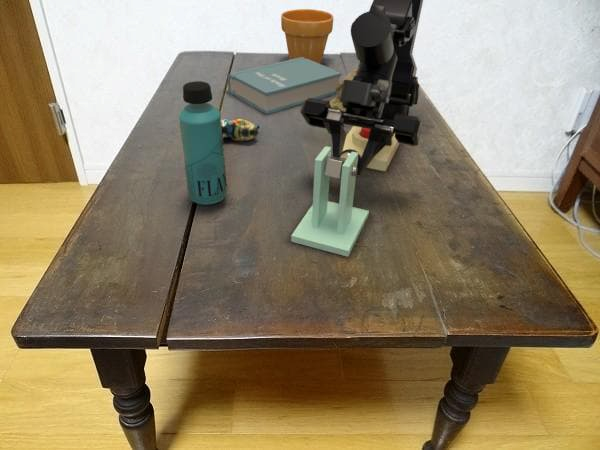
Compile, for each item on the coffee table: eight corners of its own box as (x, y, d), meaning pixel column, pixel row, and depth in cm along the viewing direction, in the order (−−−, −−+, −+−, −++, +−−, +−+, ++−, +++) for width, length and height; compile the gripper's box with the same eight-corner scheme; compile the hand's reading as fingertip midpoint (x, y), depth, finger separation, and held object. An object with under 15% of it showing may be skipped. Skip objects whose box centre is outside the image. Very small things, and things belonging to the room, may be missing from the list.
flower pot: (340, 63, 139) (344, 15, 131) (308, 75, 130) (310, 24, 123) (303, 52, 146) (304, 6, 139) (270, 63, 138) (270, 14, 130)
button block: (352, 135, 102) (354, 117, 99) (399, 144, 99) (402, 126, 97) (334, 160, 93) (335, 142, 90) (385, 171, 90) (388, 152, 88)
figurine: (193, 114, 104) (262, 116, 102) (194, 134, 105) (262, 137, 104) (177, 119, 94) (253, 122, 92) (178, 142, 95) (254, 144, 94)
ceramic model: (351, 120, 108) (356, 76, 102) (321, 103, 115) (323, 61, 109) (396, 106, 115) (403, 64, 109) (365, 91, 122) (369, 51, 116)
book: (266, 114, 109) (266, 93, 106) (228, 92, 119) (227, 72, 116) (340, 92, 121) (341, 73, 118) (299, 74, 131) (300, 55, 128)
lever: (339, 167, 79) (343, 146, 78) (361, 172, 78) (365, 150, 77) (319, 178, 68) (323, 153, 67) (343, 183, 67) (347, 158, 66)
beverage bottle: (195, 217, 77) (180, 96, 65) (183, 196, 82) (167, 80, 70) (234, 207, 79) (226, 89, 67) (220, 187, 84) (210, 74, 72)
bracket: (316, 204, 81) (320, 134, 73) (368, 216, 78) (377, 145, 70) (290, 241, 72) (292, 167, 65) (348, 257, 70) (356, 181, 62)
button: (363, 130, 96) (364, 122, 94) (381, 133, 94) (382, 125, 93) (358, 137, 93) (359, 129, 92) (376, 141, 92) (377, 133, 91)
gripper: (306, 46, 72) (277, 143, 71) (431, 64, 67) (402, 169, 65) (321, 80, 83) (296, 165, 81) (430, 98, 78) (405, 190, 76)
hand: (346, 172), depth 76 cm, fingers closed on lever, 3 cm apart
